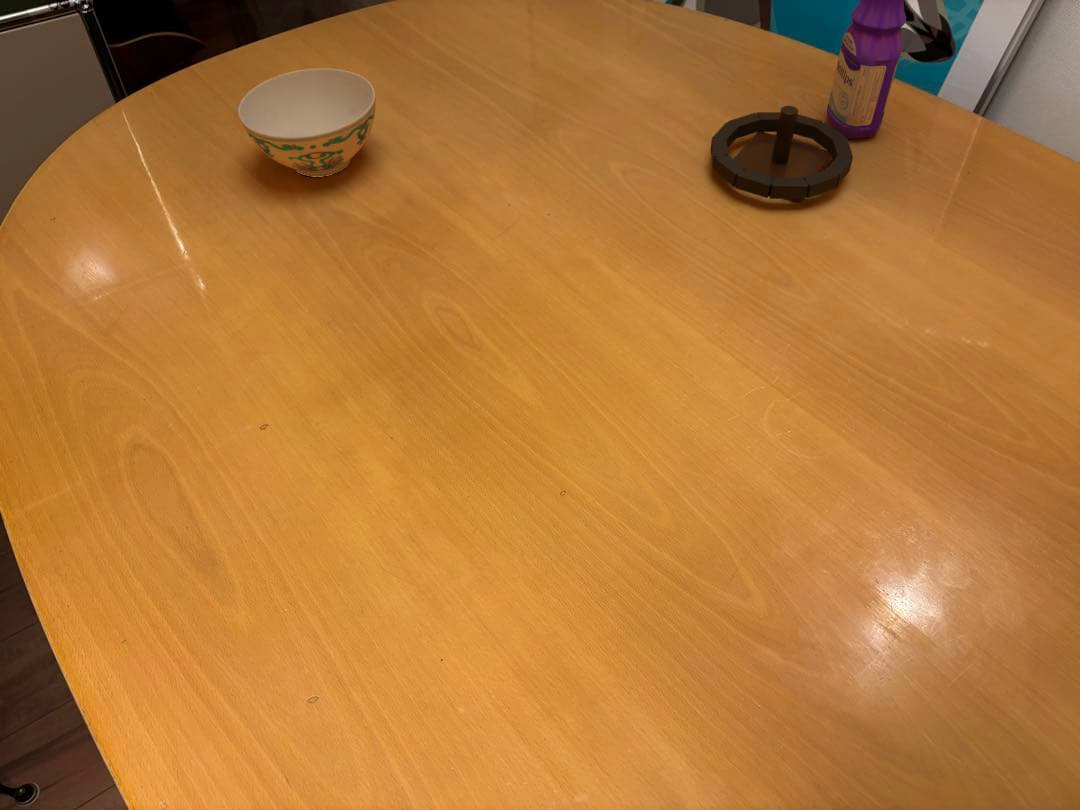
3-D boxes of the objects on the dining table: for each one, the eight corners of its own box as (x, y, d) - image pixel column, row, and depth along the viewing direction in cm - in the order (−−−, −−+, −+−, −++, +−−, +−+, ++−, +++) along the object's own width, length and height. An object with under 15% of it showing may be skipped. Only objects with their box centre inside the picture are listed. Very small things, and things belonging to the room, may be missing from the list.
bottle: (817, 113, 106) (850, -38, 93) (863, 109, 106) (902, -42, 93) (837, 145, 101) (875, -9, 88) (885, 140, 101) (930, -13, 88)
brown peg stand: (830, 163, 98) (846, 102, 93) (800, 203, 93) (814, 141, 88) (756, 141, 102) (767, 81, 96) (723, 179, 97) (732, 117, 91)
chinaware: (237, 195, 98) (216, 133, 92) (284, 124, 108) (267, 65, 102) (365, 203, 96) (351, 141, 90) (400, 131, 106) (390, 70, 100)
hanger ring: (867, 146, 98) (870, 134, 96) (817, 214, 90) (821, 201, 88) (745, 112, 103) (747, 100, 102) (688, 173, 95) (689, 160, 94)
